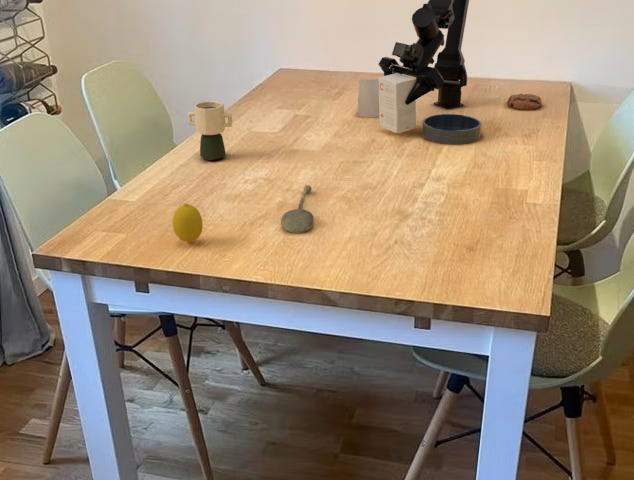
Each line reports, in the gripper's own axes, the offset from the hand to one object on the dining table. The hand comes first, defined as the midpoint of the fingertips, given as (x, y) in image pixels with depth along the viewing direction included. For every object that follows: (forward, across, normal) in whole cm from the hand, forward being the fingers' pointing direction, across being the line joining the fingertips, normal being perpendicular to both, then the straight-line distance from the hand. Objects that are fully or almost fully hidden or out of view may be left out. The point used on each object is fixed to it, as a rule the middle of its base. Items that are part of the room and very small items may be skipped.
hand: (393, 100), depth 199 cm
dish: (-1, +11, +14) cm, 18 cm away
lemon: (+61, +21, -49) cm, 81 cm away
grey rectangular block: (0, -17, +13) cm, 21 cm away
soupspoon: (+43, +24, -30) cm, 58 cm away
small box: (+4, 0, +7) cm, 8 cm away
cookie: (-28, +7, +41) cm, 50 cm away
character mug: (+39, -17, -26) cm, 50 cm away
